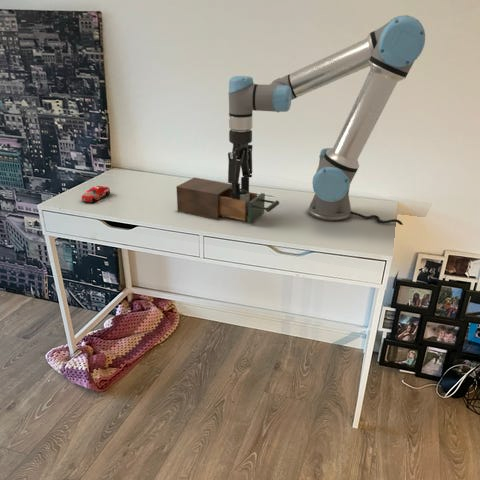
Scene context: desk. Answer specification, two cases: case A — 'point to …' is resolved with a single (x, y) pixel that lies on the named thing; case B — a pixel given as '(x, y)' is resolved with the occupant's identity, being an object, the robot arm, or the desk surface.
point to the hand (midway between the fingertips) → (240, 198)
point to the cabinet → (201, 197)
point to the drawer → (244, 206)
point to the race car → (95, 194)
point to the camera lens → (245, 197)
